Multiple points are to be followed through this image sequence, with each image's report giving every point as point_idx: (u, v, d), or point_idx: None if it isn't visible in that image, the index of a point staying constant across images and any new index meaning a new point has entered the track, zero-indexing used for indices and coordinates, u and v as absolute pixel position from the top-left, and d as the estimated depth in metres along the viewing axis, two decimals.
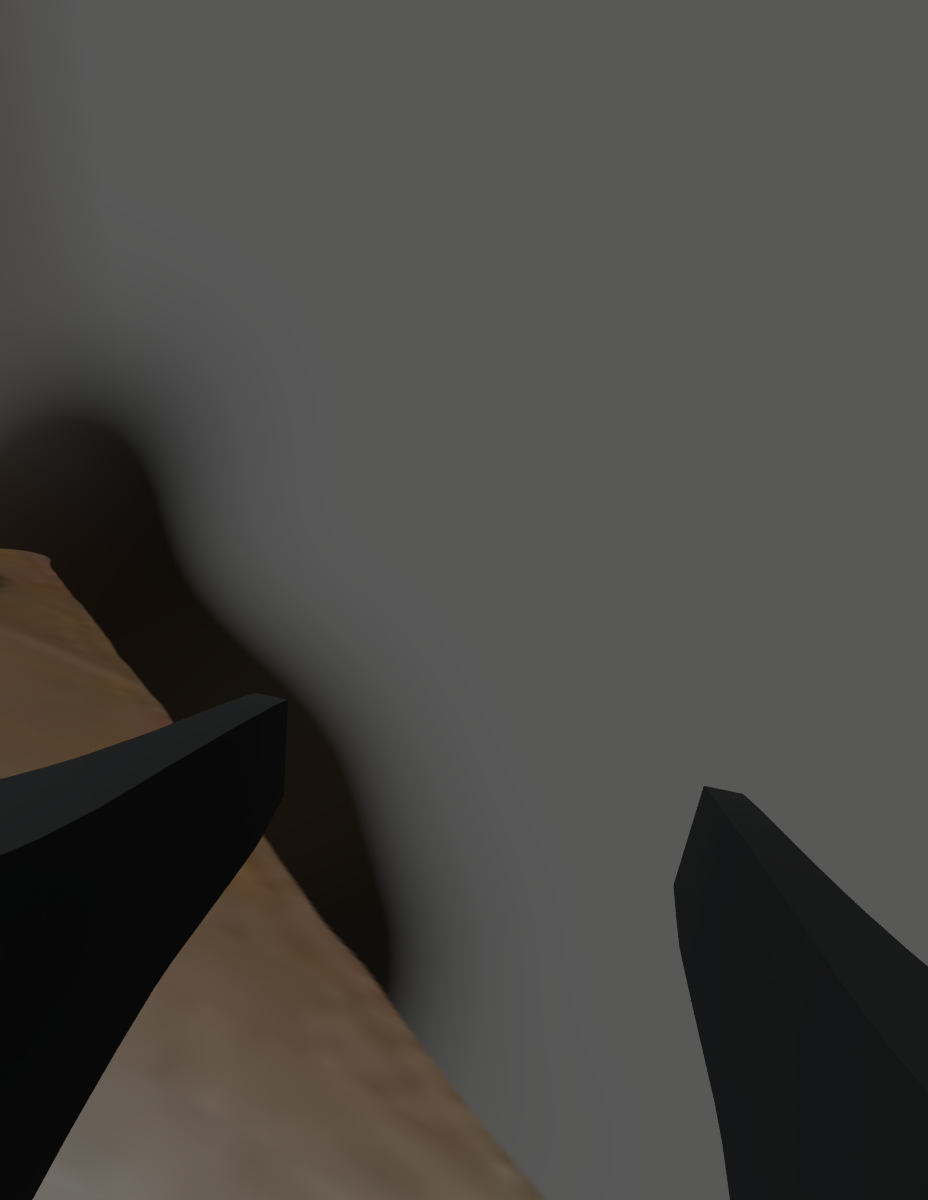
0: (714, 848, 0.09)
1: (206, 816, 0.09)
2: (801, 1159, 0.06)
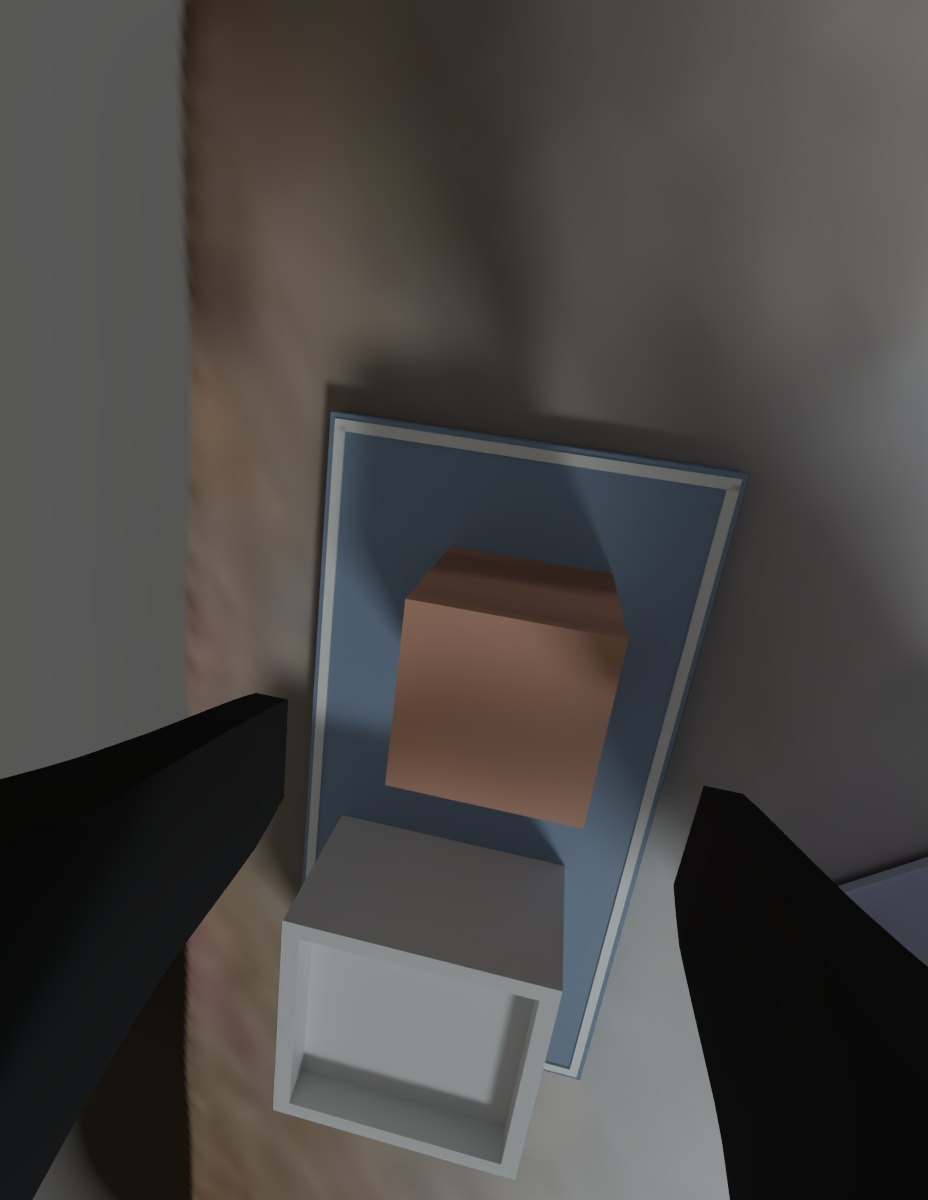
0: (714, 848, 0.09)
1: (206, 817, 0.09)
2: (801, 1159, 0.06)
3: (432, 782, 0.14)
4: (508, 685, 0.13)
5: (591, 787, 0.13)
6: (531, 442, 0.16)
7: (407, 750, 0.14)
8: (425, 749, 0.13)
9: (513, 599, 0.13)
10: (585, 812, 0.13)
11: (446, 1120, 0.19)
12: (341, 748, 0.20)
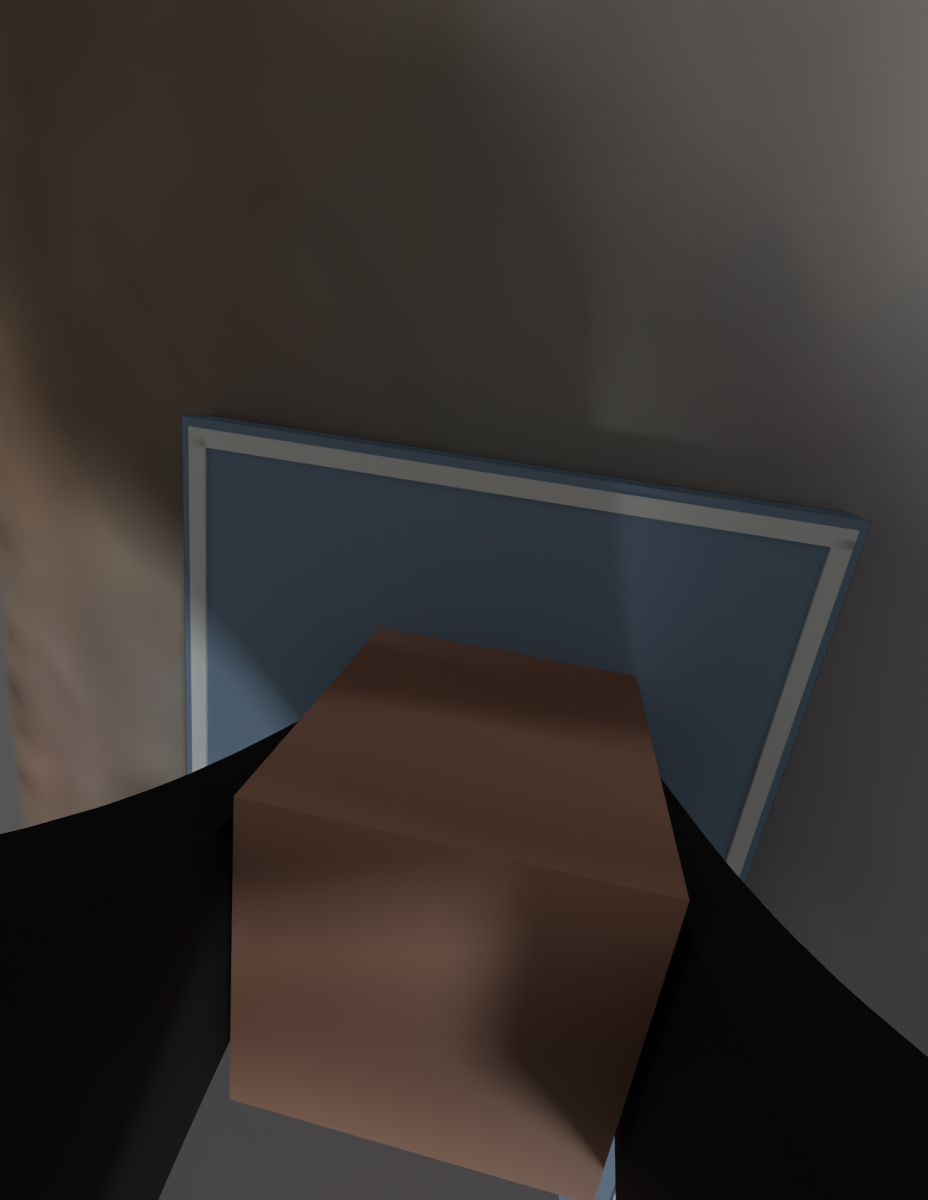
0: None
1: None
2: (660, 1121, 0.06)
3: (312, 1104, 0.07)
4: (443, 961, 0.06)
5: (608, 1141, 0.07)
6: (503, 466, 0.10)
7: (263, 1050, 0.07)
8: (295, 1052, 0.07)
9: (459, 770, 0.07)
10: (596, 1178, 0.07)
11: None
12: None
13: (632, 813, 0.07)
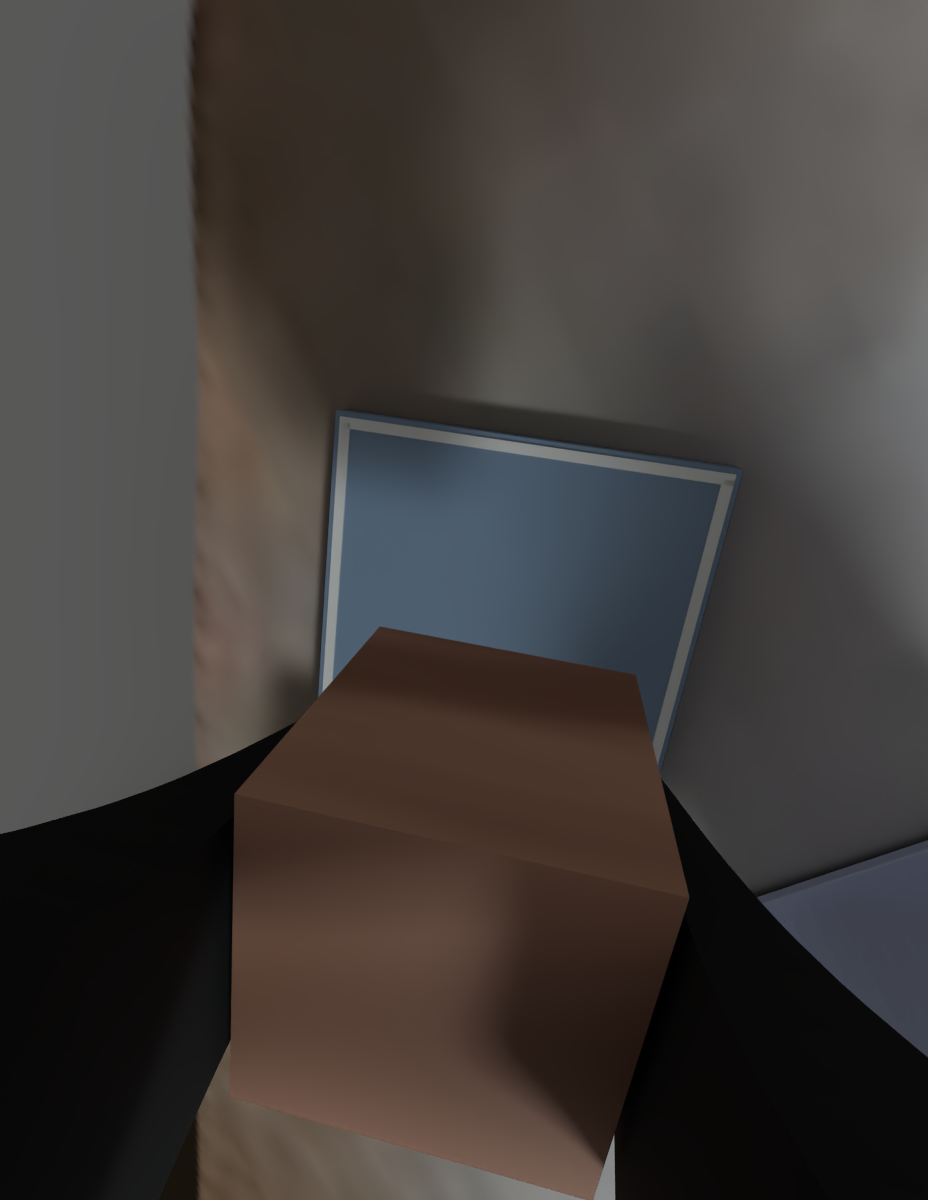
0: None
1: None
2: (660, 1121, 0.06)
3: (313, 1102, 0.07)
4: (443, 959, 0.06)
5: (608, 1138, 0.07)
6: (531, 439, 0.16)
7: (262, 1048, 0.07)
8: (296, 1050, 0.07)
9: (460, 768, 0.07)
10: (596, 1175, 0.07)
11: None
12: None
13: (632, 811, 0.07)
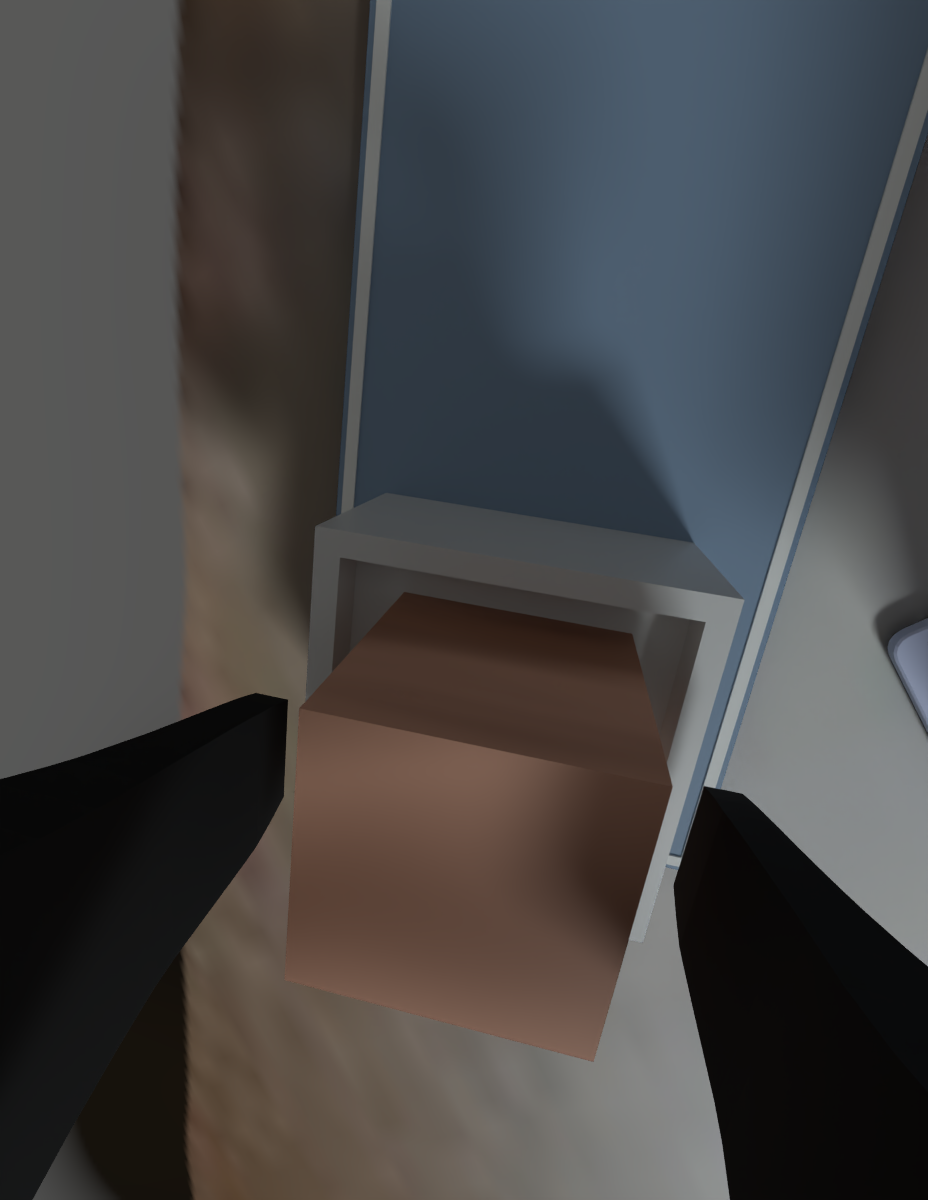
0: (714, 848, 0.09)
1: (207, 817, 0.09)
2: (801, 1159, 0.06)
3: (356, 981, 0.09)
4: (471, 847, 0.08)
5: (607, 1003, 0.08)
6: None
7: (316, 934, 0.09)
8: (343, 934, 0.09)
9: (482, 696, 0.08)
10: (597, 1038, 0.08)
11: None
12: (387, 384, 0.14)
13: (627, 729, 0.08)
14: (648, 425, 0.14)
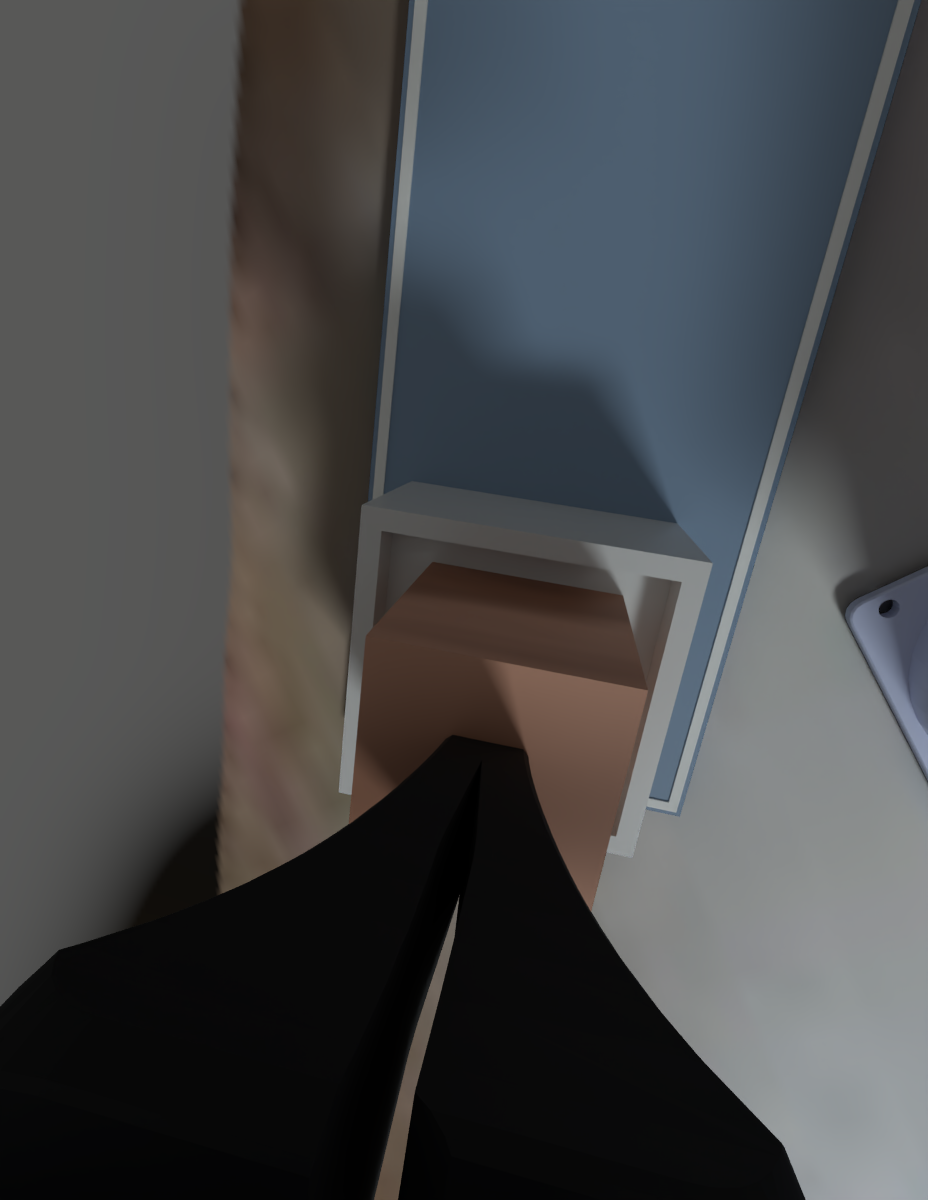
0: (476, 796, 0.09)
1: (449, 874, 0.08)
2: None
3: None
4: None
5: (599, 868, 0.10)
6: None
7: None
8: None
9: (503, 632, 0.11)
10: (592, 898, 0.11)
11: None
12: (414, 387, 0.17)
13: (615, 656, 0.10)
14: (638, 422, 0.16)
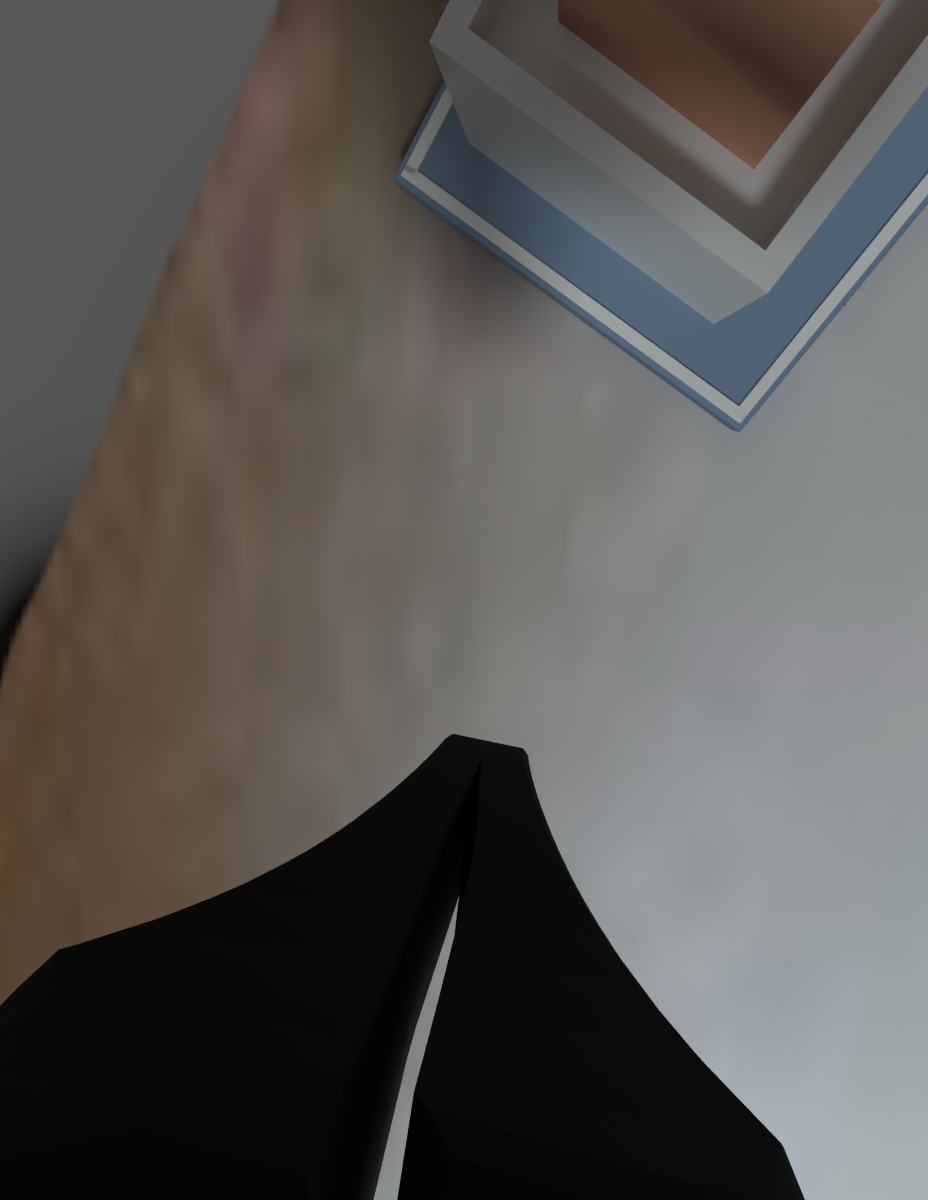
0: (476, 796, 0.09)
1: (449, 874, 0.08)
2: None
3: None
4: None
5: None
6: None
7: None
8: None
9: None
10: None
11: None
12: None
13: None
14: None
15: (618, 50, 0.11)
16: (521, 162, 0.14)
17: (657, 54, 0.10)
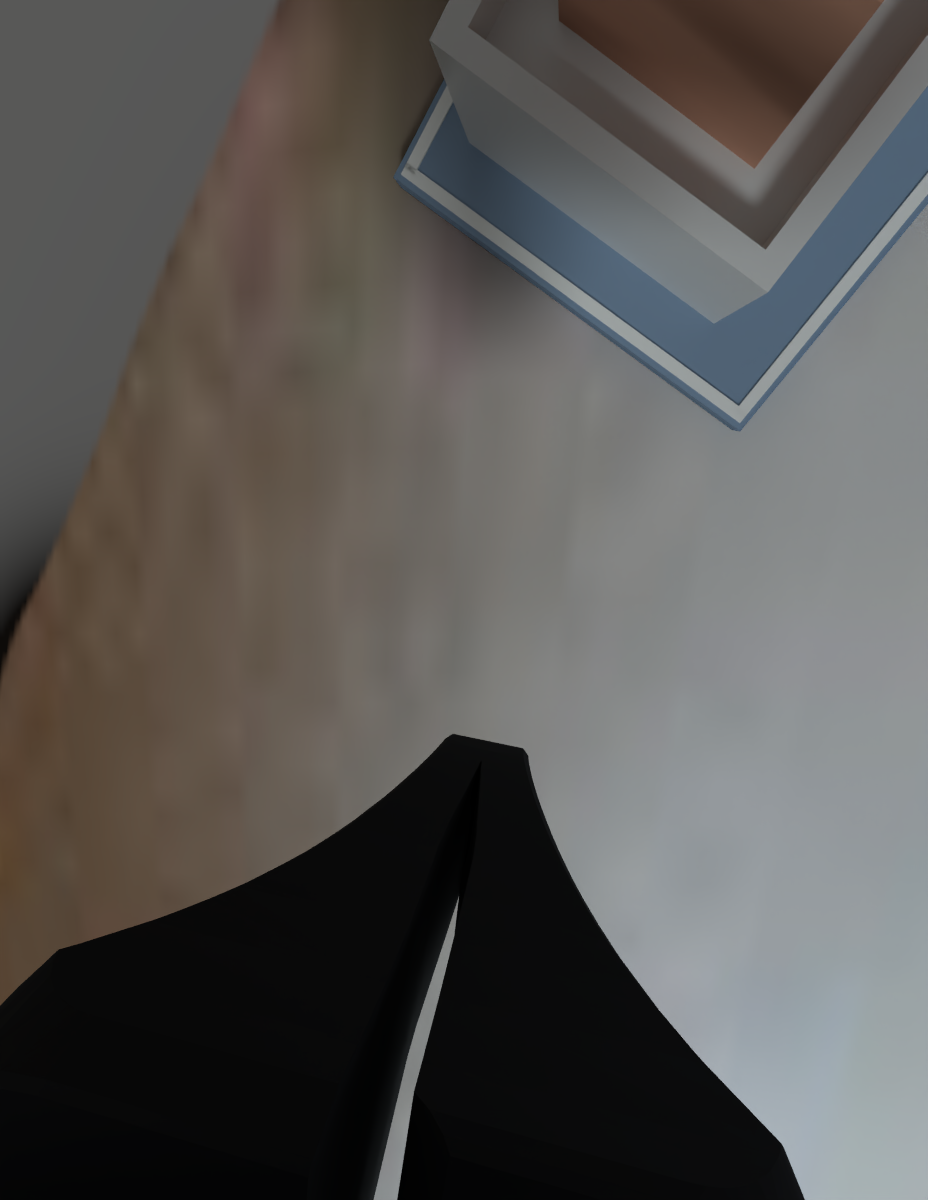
0: (476, 796, 0.09)
1: (449, 874, 0.08)
2: None
3: None
4: None
5: None
6: None
7: None
8: None
9: None
10: None
11: None
12: None
13: None
14: None
15: (618, 49, 0.11)
16: (521, 161, 0.14)
17: (658, 53, 0.10)
